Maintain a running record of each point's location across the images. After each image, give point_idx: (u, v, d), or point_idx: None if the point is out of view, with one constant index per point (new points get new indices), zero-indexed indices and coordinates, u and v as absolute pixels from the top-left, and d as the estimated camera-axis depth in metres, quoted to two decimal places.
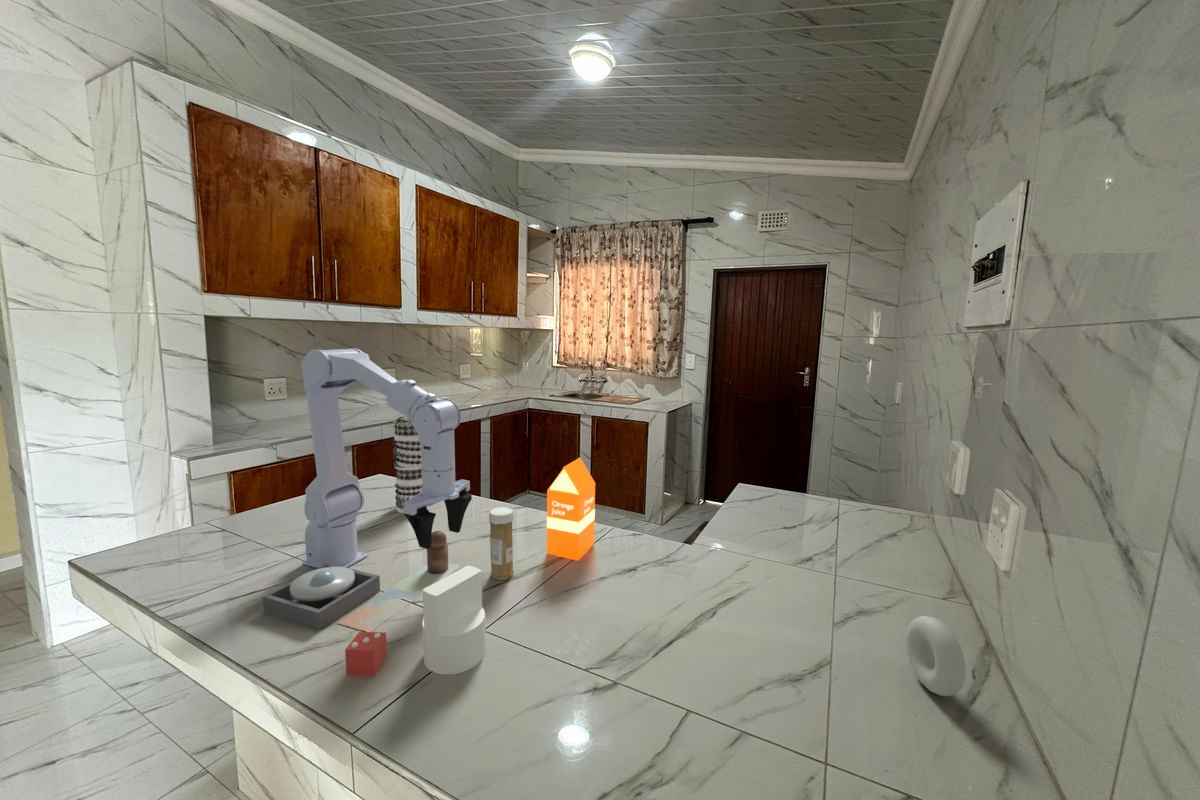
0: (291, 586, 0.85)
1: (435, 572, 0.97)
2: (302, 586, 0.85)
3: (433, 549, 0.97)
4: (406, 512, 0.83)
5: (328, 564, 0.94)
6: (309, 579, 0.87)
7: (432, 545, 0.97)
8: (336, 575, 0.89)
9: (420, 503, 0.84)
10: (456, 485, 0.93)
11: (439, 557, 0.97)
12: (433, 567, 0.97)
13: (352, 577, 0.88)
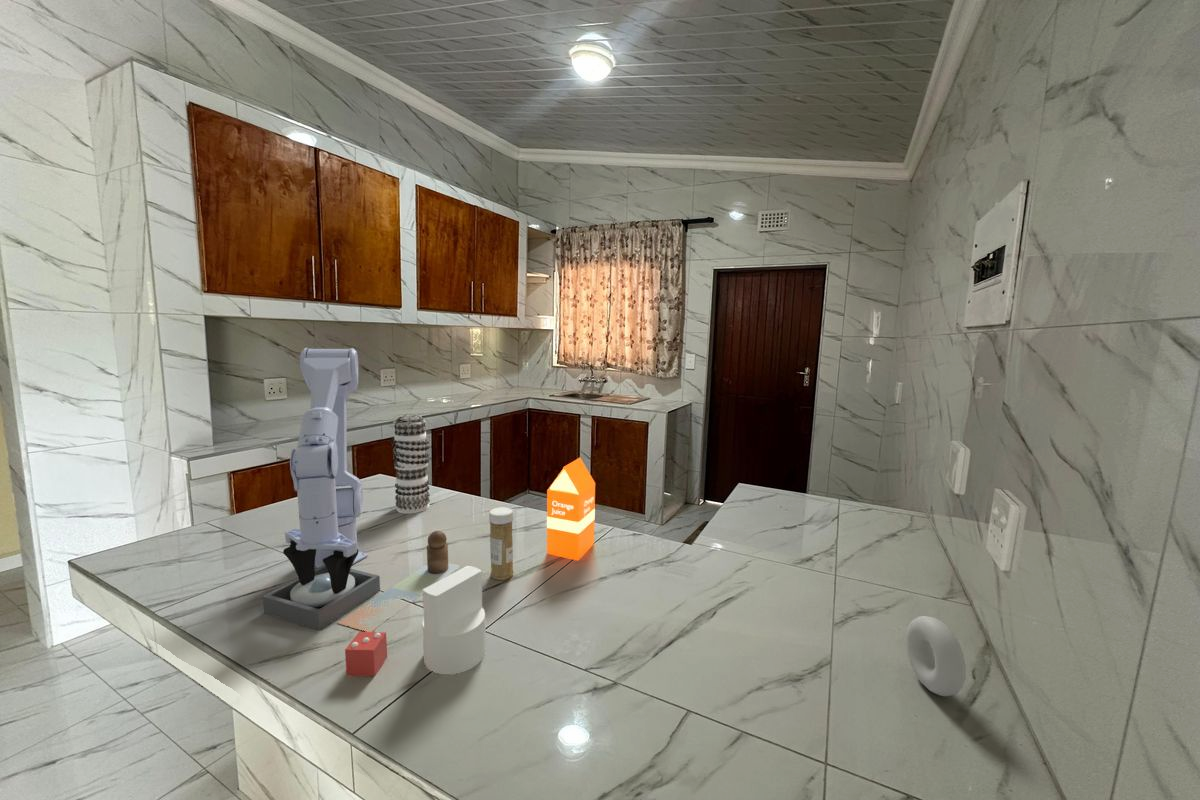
0: (291, 592, 0.85)
1: (435, 572, 0.97)
2: (302, 592, 0.85)
3: (433, 549, 0.97)
4: None
5: None
6: (309, 585, 0.87)
7: (432, 545, 0.97)
8: None
9: (290, 536, 0.86)
10: (337, 543, 0.84)
11: (439, 557, 0.97)
12: (433, 567, 0.97)
13: (353, 583, 0.88)
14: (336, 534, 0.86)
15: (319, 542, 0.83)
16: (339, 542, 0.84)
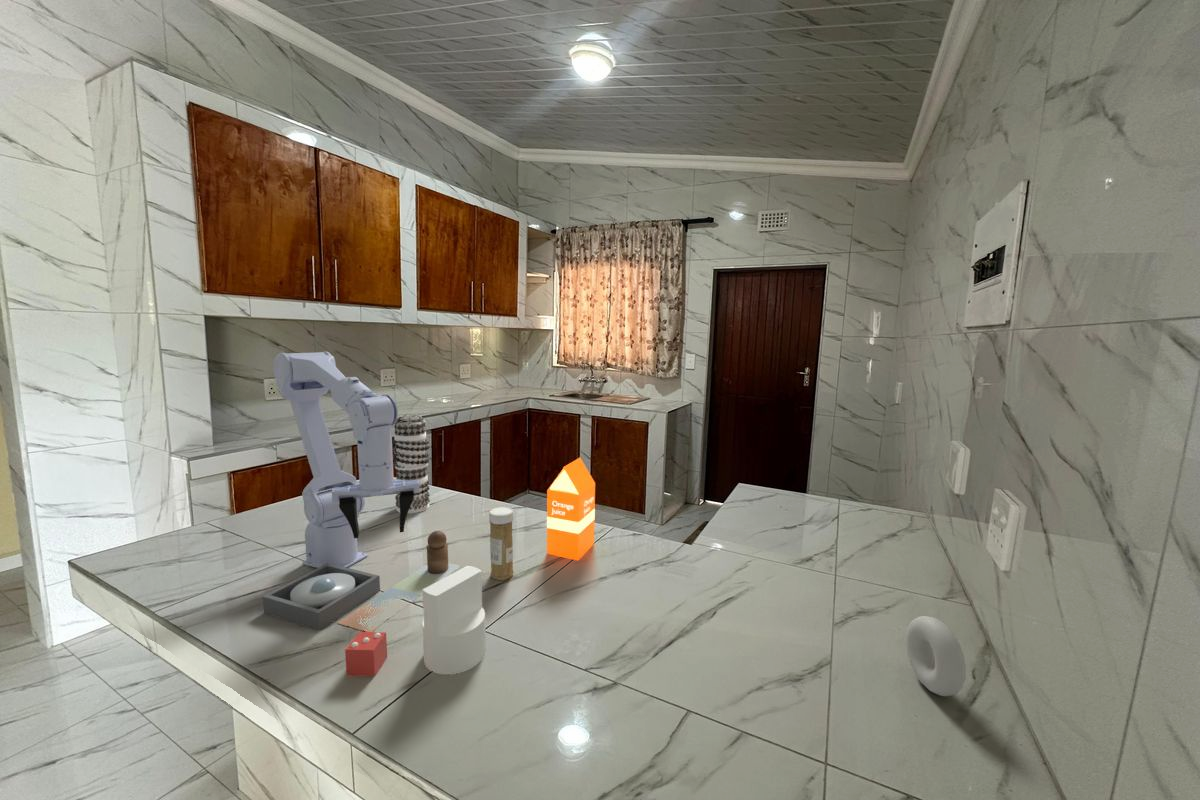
0: (292, 593, 0.85)
1: (435, 572, 0.97)
2: (303, 593, 0.85)
3: (433, 549, 0.97)
4: None
5: (328, 564, 0.94)
6: (309, 586, 0.87)
7: (432, 545, 0.97)
8: (336, 582, 0.89)
9: (341, 492, 0.87)
10: (402, 484, 0.92)
11: (439, 557, 0.97)
12: (433, 567, 0.97)
13: (353, 584, 0.88)
14: None
15: (389, 486, 0.89)
16: (404, 483, 0.92)
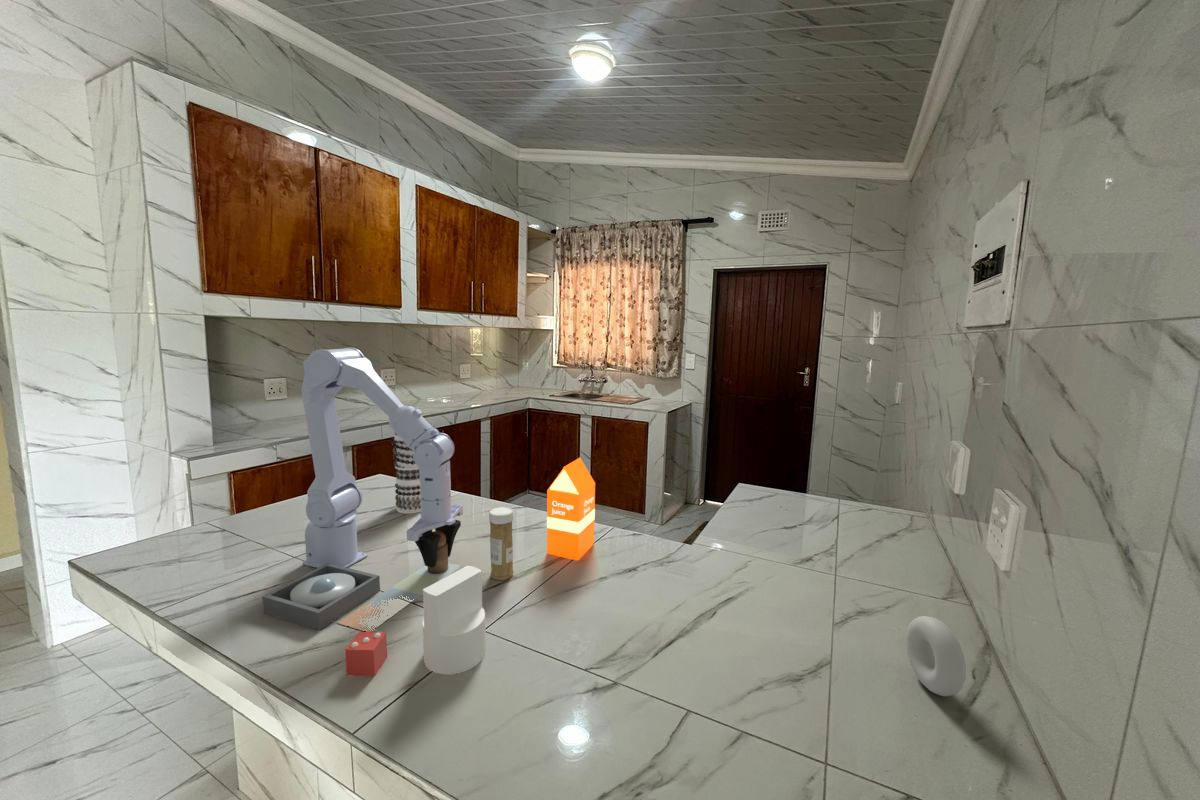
0: (292, 593, 0.85)
1: (435, 572, 0.97)
2: (303, 593, 0.85)
3: None
4: (409, 539, 0.91)
5: (328, 564, 0.94)
6: (309, 586, 0.87)
7: None
8: (336, 582, 0.89)
9: (421, 530, 0.92)
10: (451, 510, 1.02)
11: (439, 557, 0.97)
12: None
13: (353, 584, 0.88)
14: None
15: (451, 514, 0.99)
16: (451, 509, 1.02)
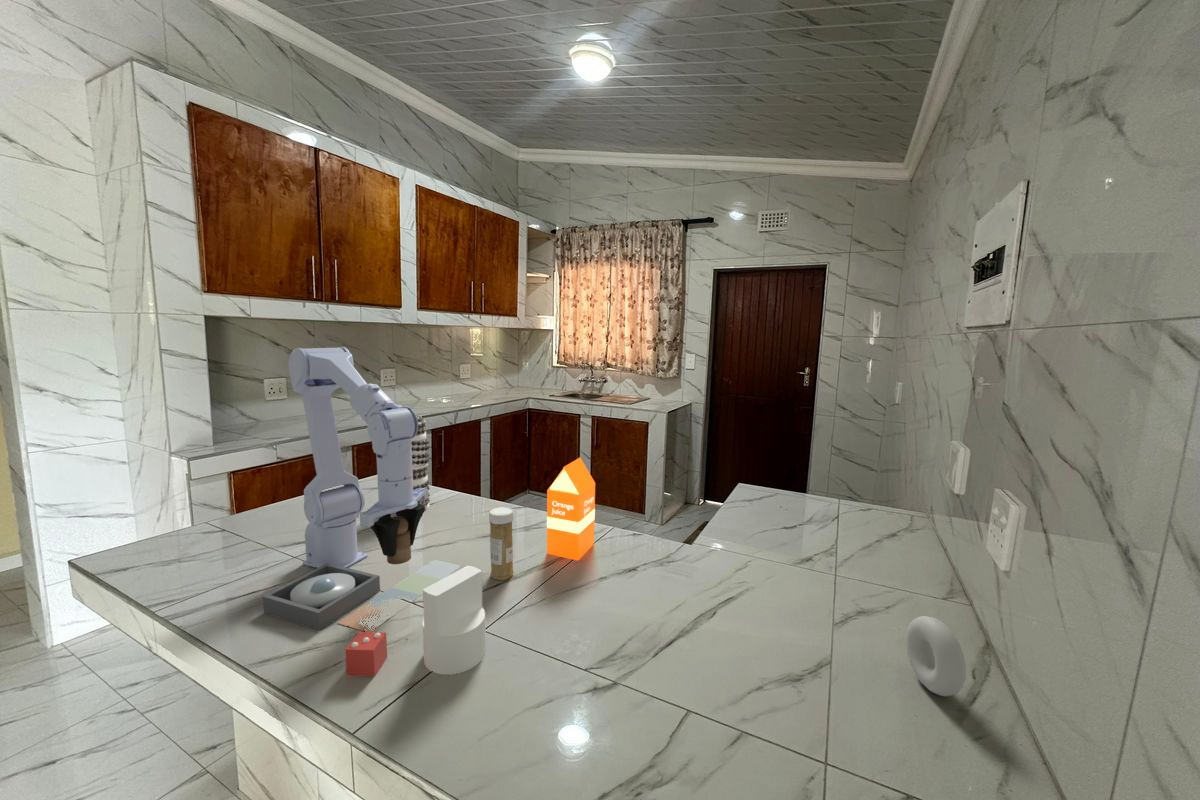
0: (292, 593, 0.85)
1: (395, 562, 0.87)
2: (303, 593, 0.85)
3: None
4: (362, 524, 0.81)
5: (328, 564, 0.94)
6: (309, 586, 0.87)
7: None
8: (336, 582, 0.89)
9: (377, 514, 0.81)
10: (414, 494, 0.91)
11: (400, 545, 0.86)
12: (393, 556, 0.86)
13: (353, 584, 0.88)
14: None
15: None
16: (415, 492, 0.91)
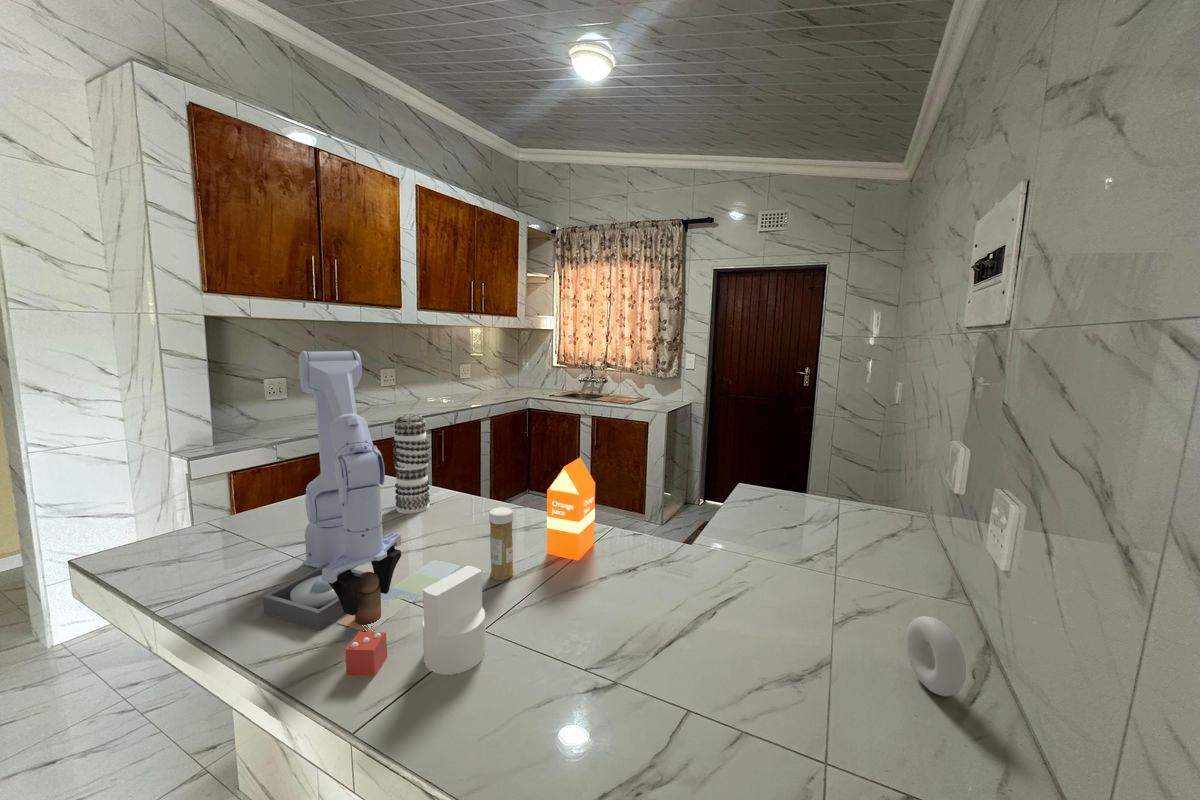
0: (292, 593, 0.85)
1: (363, 622, 0.81)
2: (303, 593, 0.85)
3: (361, 595, 0.80)
4: (325, 580, 0.75)
5: (328, 564, 0.94)
6: (309, 586, 0.87)
7: (359, 590, 0.80)
8: None
9: (341, 569, 0.75)
10: (385, 541, 0.85)
11: (368, 605, 0.81)
12: (361, 616, 0.81)
13: None
14: None
15: (383, 545, 0.82)
16: (386, 539, 0.85)
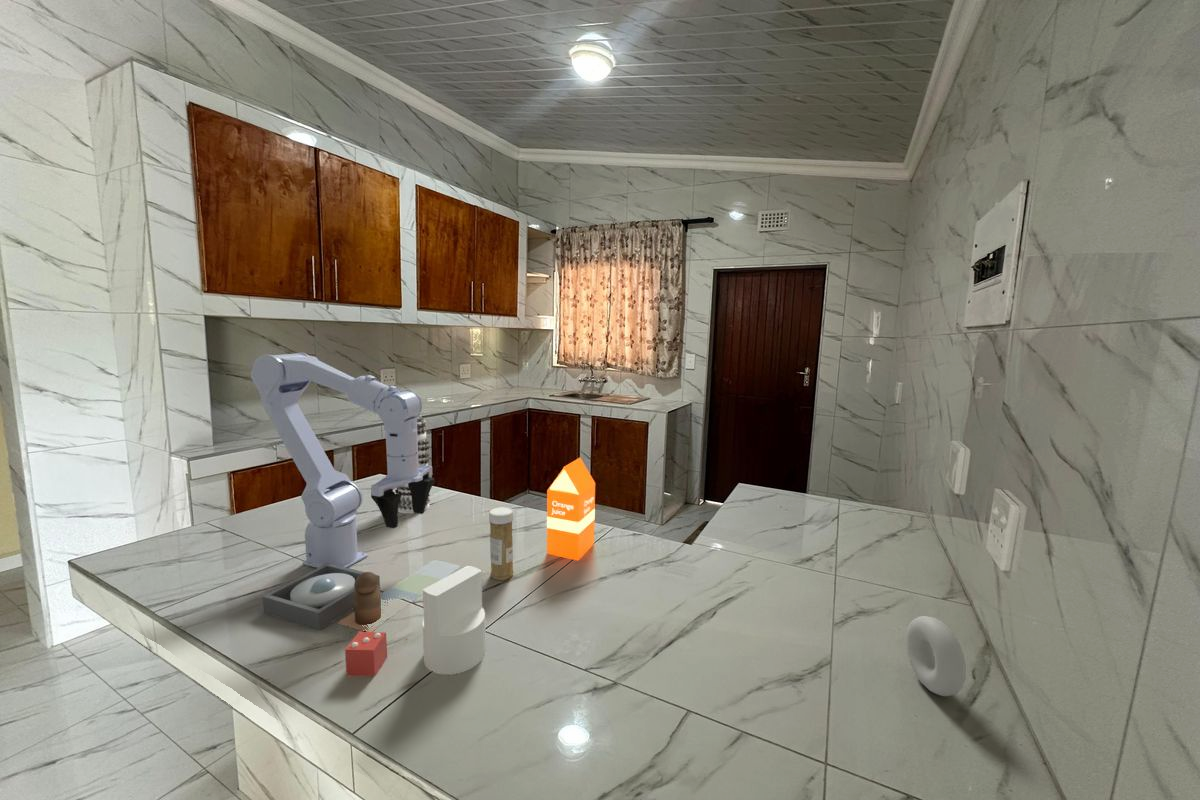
0: (292, 593, 0.85)
1: (363, 623, 0.81)
2: (303, 593, 0.85)
3: (360, 595, 0.80)
4: (373, 494, 0.90)
5: (328, 564, 0.94)
6: (309, 586, 0.87)
7: (359, 590, 0.80)
8: (336, 582, 0.89)
9: (386, 485, 0.91)
10: (419, 470, 1.01)
11: (368, 605, 0.81)
12: (360, 616, 0.81)
13: (353, 584, 0.88)
14: None
15: (418, 472, 0.98)
16: (420, 469, 1.01)
